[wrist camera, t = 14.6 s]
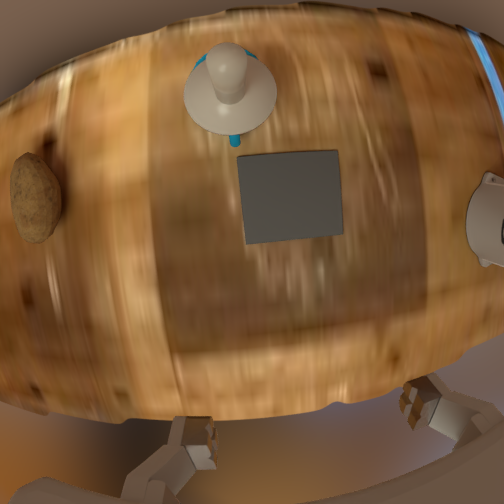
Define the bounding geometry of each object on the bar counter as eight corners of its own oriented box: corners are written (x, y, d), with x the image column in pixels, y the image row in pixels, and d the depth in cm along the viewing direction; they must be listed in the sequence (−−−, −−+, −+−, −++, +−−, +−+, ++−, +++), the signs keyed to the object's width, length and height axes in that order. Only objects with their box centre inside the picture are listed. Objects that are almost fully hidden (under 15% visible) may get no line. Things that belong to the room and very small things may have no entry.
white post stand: (270, 51, 26) (281, 8, 17) (281, 130, 29) (299, 110, 19) (182, 61, 26) (161, 22, 17) (188, 141, 28) (167, 126, 19)
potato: (63, 143, 35) (33, 140, 27) (79, 229, 38) (51, 240, 30) (24, 164, 35) (-6, 165, 27) (39, 242, 38) (10, 254, 31)
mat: (336, 150, 37) (337, 150, 37) (342, 233, 40) (342, 234, 40) (236, 157, 37) (236, 157, 36) (246, 243, 40) (246, 244, 40)
